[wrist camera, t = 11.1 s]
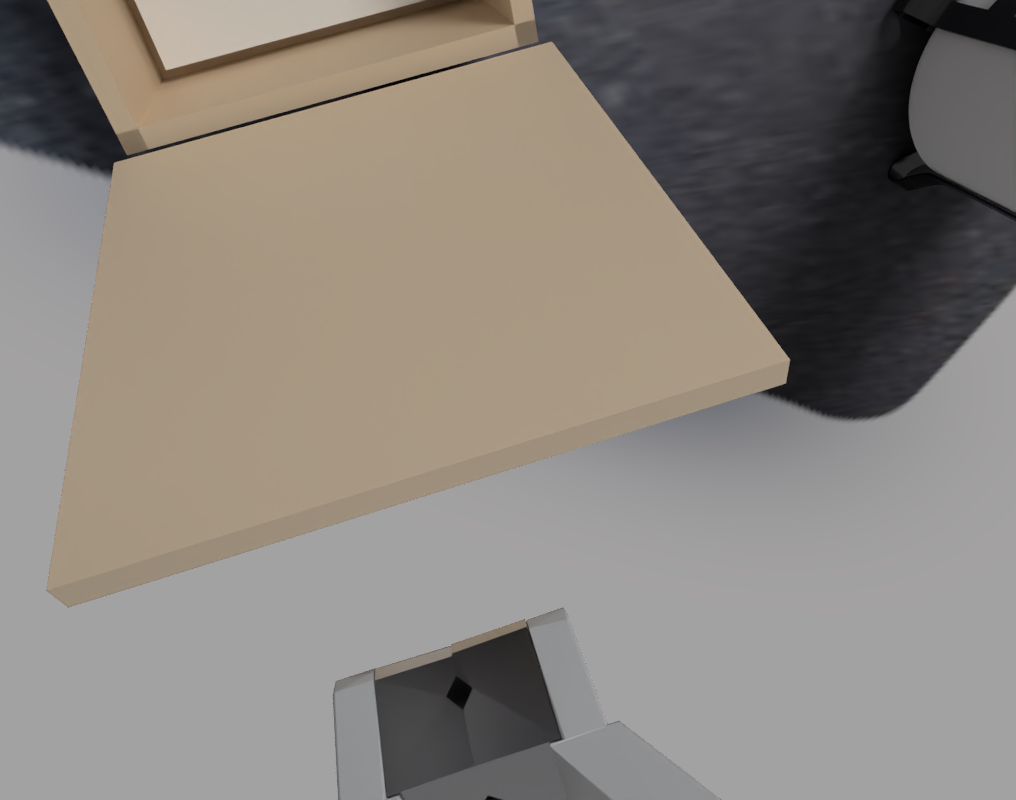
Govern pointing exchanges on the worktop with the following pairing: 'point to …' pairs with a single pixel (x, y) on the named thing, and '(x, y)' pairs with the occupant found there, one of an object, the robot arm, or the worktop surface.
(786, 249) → the worktop surface
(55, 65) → the worktop surface
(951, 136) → the coffee press
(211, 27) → the box
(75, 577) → the mailer lid
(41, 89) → the worktop surface
